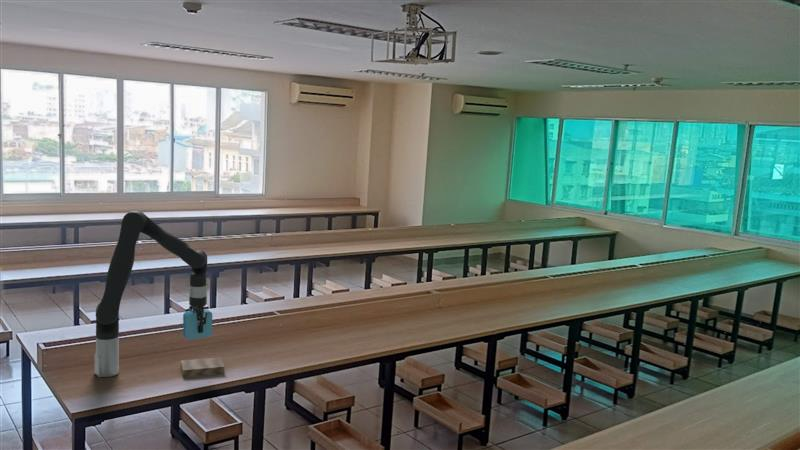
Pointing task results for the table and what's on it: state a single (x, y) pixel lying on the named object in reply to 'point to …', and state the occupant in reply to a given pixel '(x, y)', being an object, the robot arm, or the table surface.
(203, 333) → the data package
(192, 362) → the mottled brown block
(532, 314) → the table surface
